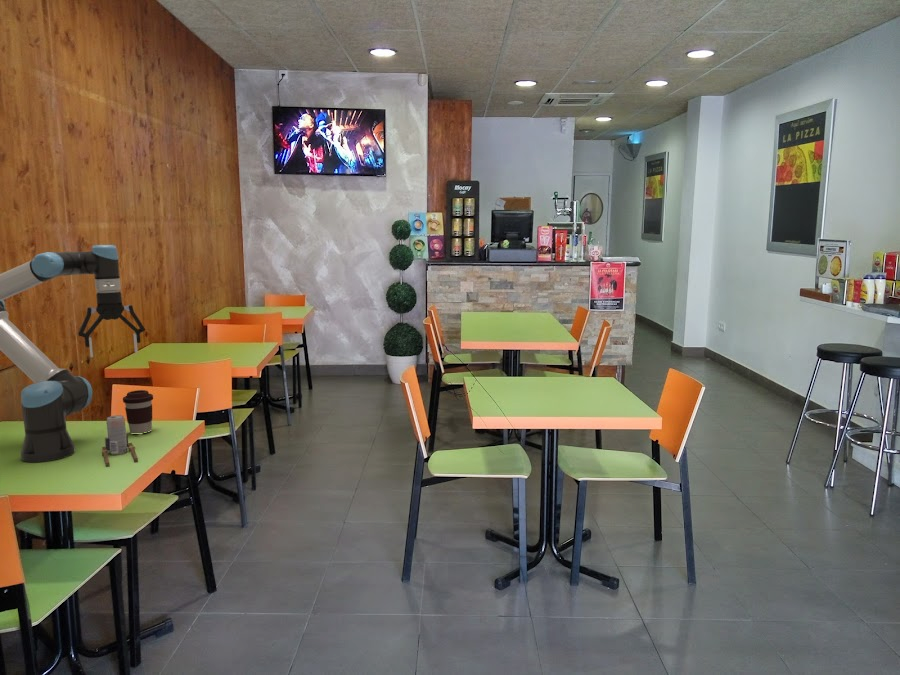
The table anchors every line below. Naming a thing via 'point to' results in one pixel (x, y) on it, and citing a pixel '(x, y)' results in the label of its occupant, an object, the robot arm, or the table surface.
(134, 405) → the coffee cup
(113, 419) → the energy drink
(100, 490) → the table surface
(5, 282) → the robot arm
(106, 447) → the stop block
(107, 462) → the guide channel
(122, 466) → the table surface
